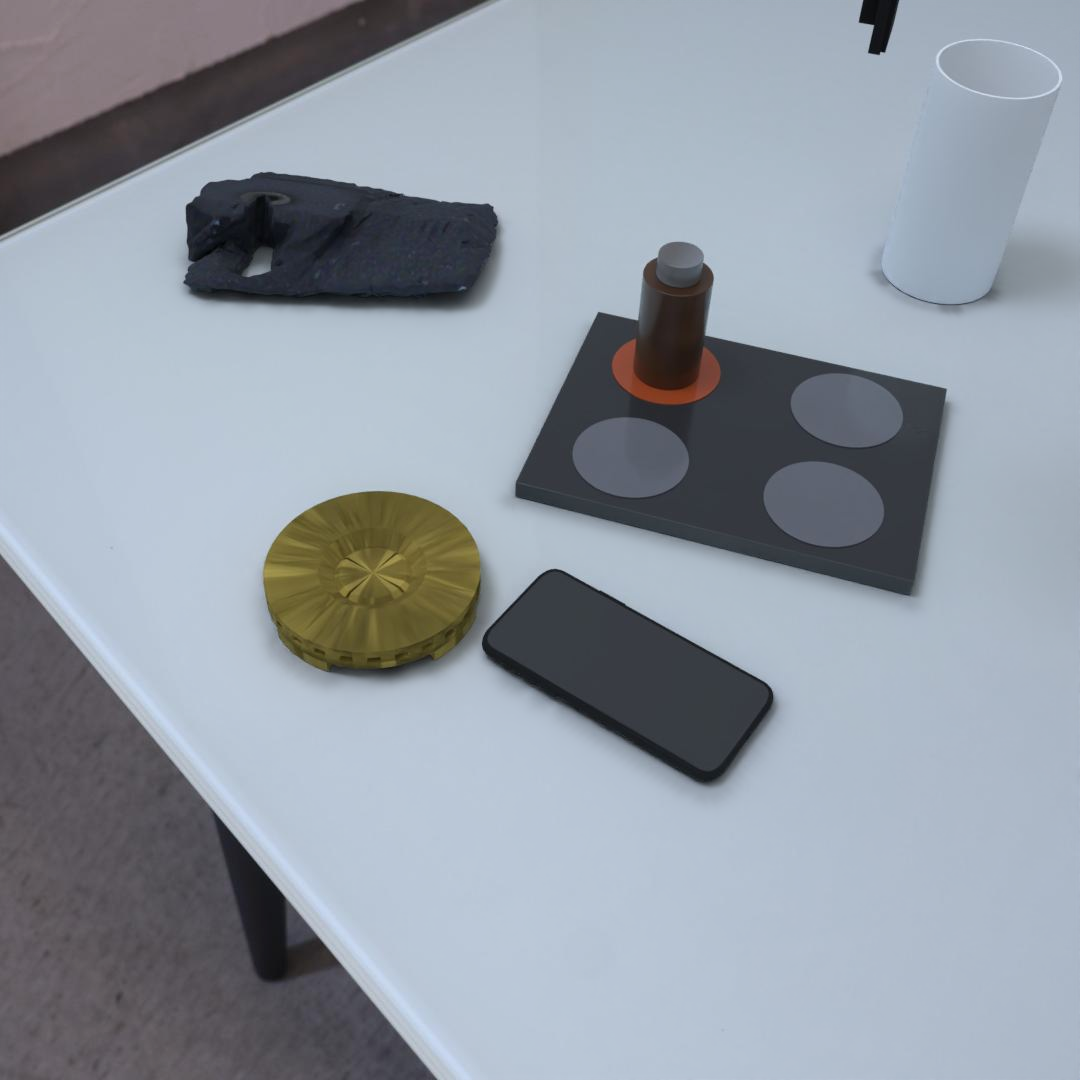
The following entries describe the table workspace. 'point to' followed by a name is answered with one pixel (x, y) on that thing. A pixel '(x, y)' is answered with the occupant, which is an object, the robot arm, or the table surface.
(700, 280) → the pepper mill
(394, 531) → the gold round disc
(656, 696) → the smartphone
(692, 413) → the hob
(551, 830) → the table surface
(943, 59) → the cup
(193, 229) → the dark slate chunk
